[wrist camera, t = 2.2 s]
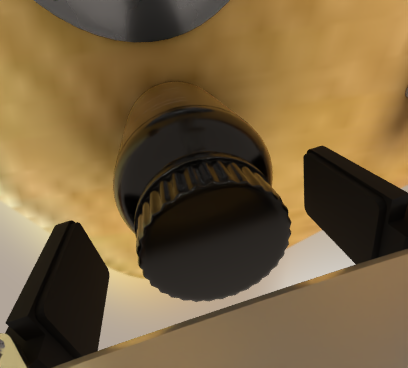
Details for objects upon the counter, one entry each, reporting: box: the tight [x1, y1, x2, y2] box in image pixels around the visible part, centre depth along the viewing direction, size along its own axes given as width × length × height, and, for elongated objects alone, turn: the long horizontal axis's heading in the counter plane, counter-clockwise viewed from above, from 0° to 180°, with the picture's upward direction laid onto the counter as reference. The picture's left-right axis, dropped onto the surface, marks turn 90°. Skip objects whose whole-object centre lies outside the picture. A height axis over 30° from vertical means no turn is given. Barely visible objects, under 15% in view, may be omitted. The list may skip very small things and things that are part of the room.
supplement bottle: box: [113, 81, 291, 302], centre depth 13 cm, size 7×7×12 cm
